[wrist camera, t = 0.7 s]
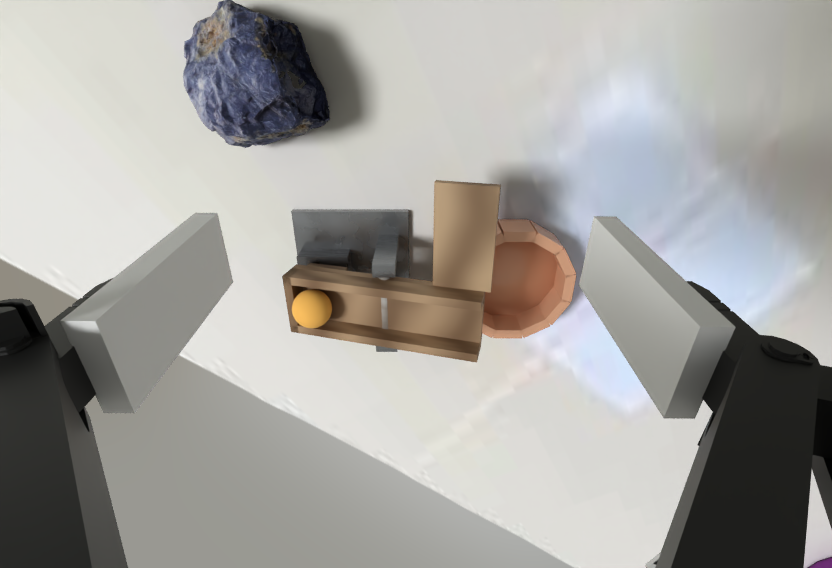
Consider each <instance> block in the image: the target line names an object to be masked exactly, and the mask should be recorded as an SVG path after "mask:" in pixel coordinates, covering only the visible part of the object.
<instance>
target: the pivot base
mask: <svg viewBox="0 0 832 568" xmlns="http://www.w3.org/2000/svg"><path fill="white" fill-rule="evenodd" d="M291 212H292V220H293V227H294V234H295V241H296V248H297V255H298V256H297V263H298V265H306V266H307V265H308V264H309V263H315V264H323V265H332V266H340V267H347V268H348V271H354V272H362V273H370V274H372V278H395V277H402V278H409V231H408V210H292V211H291ZM376 352H397V349H393V348H387V347H381V346H376Z"/></svg>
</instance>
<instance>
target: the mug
mask: <svg viewBox="0 0 832 568" xmlns="http://www.w3.org/2000/svg"><path fill="white" fill-rule="evenodd" d="M809 568H832V557H830V558H827V559H824V560H821V561H818V562H816V563H815V564H813V565H812V566H810V567H809Z"/></svg>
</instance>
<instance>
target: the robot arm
mask: <svg viewBox="0 0 832 568" xmlns="http://www.w3.org/2000/svg"><path fill="white" fill-rule="evenodd" d="M232 283H233V280H232V275H231V271H230V267H229V262H228V258H227V253H226V249H225V245H224V240H223V236H222V231H221V227H220V223H219V218H218V214H217V213H195V214H193V215H192V216H191V217H190V218H188V219H187V220H186V221H185V222H183V223H182V224H181V225H180V226H178V227H177V228H176V229H175V230H173V231H172V232H171V233H170V234H168V235H167V236H166V237H165V238H163V239H162V240H161V241H160V242H158V243H157V244H156V245H155V246H153V247H152V248H151V249H150V250H148V251H147V252H146V253H145V254H143V255H142V256H141V257H140V258H138V259H137V260H136V261H135V262H133V263H132V264H131V265H130V266H128V267H127V268H126V269H125V270H123V271H122V272H121V273H120V274H118V275H117V276H116V277H114V278H112V279H110V280H108V281H106V282H104V283H102V284H99V285H97V286H95V287H94V288H93V289H92V290H90V291H89V292H88V293H87V294H85V295H84V296H83V298H80V299H79V300H78V301H76V302H75V303H74V304H73V305H72V307H69V308H67V309H66V310H65V311H64V312H62V313H61V314H60V315H58V316H57V317H56V318H54V319H53V320H52V321H51V322H49V323H48V324H47V325H46V326H44V325H43V323H42V321H41V319H40V317H39V315H38V313H37V311H36V309H35V307H34V305H33V304H32V302H31V301H30V300H24V299H8V300H3V301H0V568H128V566H127V562H126V558H125V554H124V550H123V546H122V542H121V538H120V535H119V530H118V527H117V522H116V519H115V515H114V510H113V507H112V503H111V499H110V495H109V491H108V487H107V483H106V479H105V475H104V471H103V467H102V463H101V459H100V455H99V451H98V447H97V444H96V440H95V436H94V432H93V428H92V424H91V420H90V417H89V415H88V413H87V411H86V409H85V406H86V405H87V403H88V402H89V401H90V400H91V399H92V398H93V397H94V396H95V395H96V398H97V400H98V402H99V404H100V406H101V408H102V410H103V412H104V413H135V412H136V411H137V409H138V408H139V407H140V405H141V404H142V403H143V401H144V400H145V399H146V397H147V396H148V394H149V393H150V392H151V391H152V389H153V388H154V387H155V385H156V384H157V383H158V381H159V380H160V379H161V377H162V376H163V375H164V373H165V372H166V370H167V369H168V368H169V367H170V365H171V364H172V362H173V361H174V360H175V359H176V357H177V356H178V355H179V353H180V352H181V351H182V349H183V348H184V347H185V345H186V344H187V343H188V341H189V340H190V339H191V337H192V336H193V335H194V333H195V332H196V331H197V329H198V328H199V327H200V325H201V324H202V323H203V321H204V320H205V319H206V317H207V316H208V315H209V313H210V312H211V311H212V309H213V308H214V307H215V305H216V304H217V303H218V301H219V300H220V299H221V297H222V296H223V295H224V293H225V292H226V291H227V289H228V288H229V287H230V285H231V284H232ZM579 286H580V288H581V289H582V291H583V292H584V294H585V295H586V297H587V299H588V300H589V302H590V303H591V305H592V306H593V308H594V310H595V311H596V313H597V314H598V316H599V317H600V319H601V321H602V322H603V324H604V325H605V327H606V328H607V330H608V332H609V333H610V335H611V336H612V338H613V339H614V341H615V342H616V344H617V346H618V347H619V349H620V350H621V352H622V353H623V355H624V357H625V358H626V360H627V361H628V363H629V364H630V366H631V368H632V369H633V371H634V372H635V374H636V375H637V377H638V379H639V380H640V382H641V383H642V385H643V386H644V388H645V389H646V391H647V393H648V394H649V396H650V397H651V399H652V400H653V402H654V404H655V405H656V407H657V408H658V410H659V411H660V413H661V415H662V416H663V418H695V417H696V415H697V412H698V410H699V408H700V406H701V403H702V401H703V400H704V401H705V402H706V404H707V405H708V406H709V408H710V409H711V410H712V411H713V413H712V415H711V417H710V419H709V421H708V424H707V426H706V428H705V430H704V432H703V434H702V436H701V438H700V441H699V443H698V445H699V449H698V451H697V454H696V457H695V460H694V462H693V465H692V468H691V471H690V473H689V476H688V479H687V482H686V484H685V487H684V490H683V493H682V496H681V498H680V501H679V504H678V507H677V509H676V512H675V515H674V518H673V520H672V523H671V526H670V529H669V531H668V534H667V537H666V540H665V542H664V545H663V548H662V551H661V553H660V556H659V559H658V562H657V565H656V567H655V568H803V566H804V554H805V542H806V530H807V518H808V505H809V493H810V481H811V469H812V470H813V473H814V476H815V479H816V482H817V485H818V489H819V492H820V495H821V498H822V501H823V504H824V507H825V510H826V513H827V516H828V519H829V522H830V525H831V528H832V367H827V366H822V365H820V364H819V361H818V359H817V358H816V357H815V356H814V355H813V354H812V353H811V352H810V351H808V350H806V349H805V348H803V347H801V346H800V345H798V344H795V343H793V342H790V341H788V340H785V339H782V338H778V337H774V336H766V335H759V334H758V333H757V332H756V331H754V330H753V329H752V328H751V327H750V326H749V325H748V324H746V323H745V322H744V321H743V320H742V319H741V318H740V317H739V316H737V315H736V314H735V313H734V312H733V311H730V309H729V308H728V307H727V306H726V305H725V304H724V303H721V301H720V300H719V299H718V298H717V297H716V296H715V295H714V294H712V293H711V292H710V291H709V290H707V289H705V288H703V287H701V286H700V285H698V284H696V283H694V282H692V281H685V280H684V279H683V278H682V277H681V276H680V275H679V274H678V273H676V272H675V271H674V270H673V269H672V268H671V267H670V266H669V265H668V264H667V263H666V262H665V261H663V260H662V259H661V258H660V257H659V256H658V255H657V254H656V253H655V252H654V251H653V250H652V249H650V248H649V247H648V246H647V245H646V244H645V243H644V242H643V241H642V240H641V239H640V238H639V237H638V236H636V235H635V234H634V233H633V232H632V231H631V230H630V229H629V228H628V227H627V226H626V225H625V224H623V223H622V222H621V221H620V220H619V219H618V218H617V217H598V216H594V219H593V223H592V228H591V232H590V237H589V242H588V246H587V251H586V255H585V260H584V264H583V269H582V273H581V278H580V283H579Z"/></svg>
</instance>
